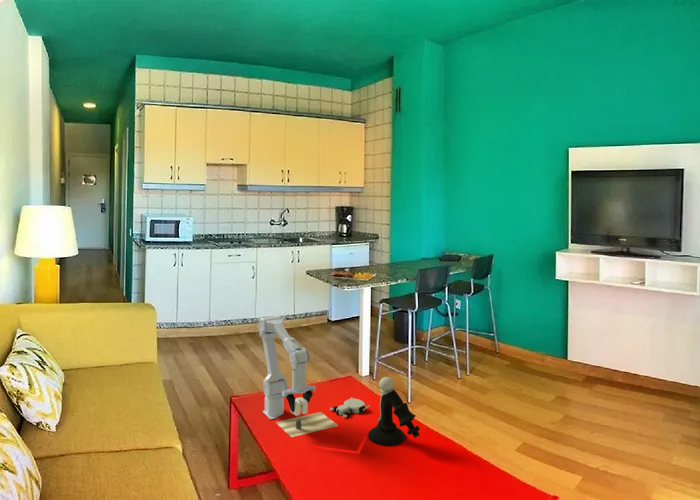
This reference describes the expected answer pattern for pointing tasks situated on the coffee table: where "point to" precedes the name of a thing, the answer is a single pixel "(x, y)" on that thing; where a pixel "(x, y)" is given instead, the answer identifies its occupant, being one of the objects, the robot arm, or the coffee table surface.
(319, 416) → the board
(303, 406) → the slotted white block
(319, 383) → the coffee table surface
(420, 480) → the coffee table surface
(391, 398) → the sculpture
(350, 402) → the robot toy
